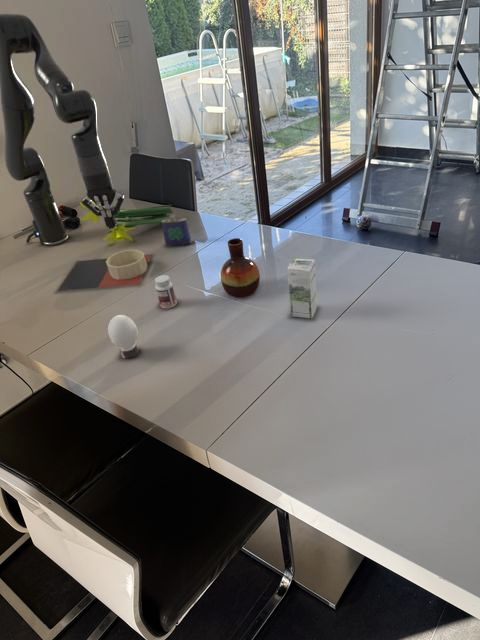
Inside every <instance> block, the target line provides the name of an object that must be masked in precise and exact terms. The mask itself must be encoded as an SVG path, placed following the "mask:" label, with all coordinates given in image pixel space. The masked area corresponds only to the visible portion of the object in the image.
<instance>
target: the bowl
mask: <svg viewBox="0 0 480 640" xmlns="http://www.w3.org/2000/svg"><path fill="white" fill-rule="evenodd" d="M144 255H145V253H144V251H142V250H140V249H124V250H121V251H118V252H116V253H113V254H111V255H110V256H109V257H107V258H106V259H107V261H106V264H107V267H108V270H109V273H110V275H111V277H113V278H114V279H119V280H125V279H131V278H134V277H137V276H139V275H141V274H143V275H144V273H145V272H146V271H147V269H148V264H147V263H146V259H145V256H144Z"/></svg>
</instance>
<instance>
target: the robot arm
mask: <svg viewBox="0 0 480 640" xmlns="http://www.w3.org/2000/svg"><path fill="white" fill-rule="evenodd" d="M17 54H19V55H20V54H32V55H34V56H35V57H34V62H33V73H34V76H35V78H36V80H37V82H38V83H39V85H40V86H41V87H42V88H43V90H44V91H45V92H46V94H47V95H48V97H49V99H50V101H51V103H52V107H53V111H54V113H55V116H56V117H57V119H59V121H61V122H62V123H65V124H74V123H78V122H82V126H81V128H79V129H78V130H76V131H74V132H73V133H72V134H71V136H70V139H71V142H72V143H71V144H72V147H73V148H74V152H75V155H76V159H77V165H78V168H79V171H80V175H81V176H82V180H83V183H84V186H85V189H86V197H85V198H84V199H83V200H82V204H83V205H85V206H86V207H87V208H88V209H89V210H88V211H90V210H91V211H92V212H93V213H94V214H95V215H97V216H99V217H102V218H103V220H104V224H105V226H106V228H108V229H109V230H111V229H113V228H115V226H116V225H117V224H116V222H117V221H116V220H115V219H116V218H115V217H114V215H115V214H117V213H118V212H119V209H121V206H122V205H123V202H124V200H125V199H126V195H125V194H120V193H118V192H117V190H116V188H115V186H114V184H113V181H112V178H111V177H112V176H111V173H110V171H109V167H108V163H107V159H106V157H105V155H104V152H103V150H102V146H101V142H100V138H99V133H98V119H97V118H98V116H97V115H98V112H97V104H96V101H95V98H94V96H93V95H92V93H90V91H88V90H87V89H76V90H74V84H73V82H72V80H71V78H69V76H68V75H67V74H66V72H65V71H64V70H63V69H62V68H61V67H60V66H59V64H58V63H57V61H56V60H55V59H54V57H53V55H52V53H51V51H50V50H49V48H48V46H47V44H46V42H45V40H44V38H43V37H42V35H41V33H40V31H39V29H38V28H37V26H36V24H35V23H34V22H33V21H32V19H31V18H30V17H29V16H27V15H26V14H22V13H0V105H1V106H0V107H1V113H2V119H3V120H2V121H3V132H4V133H3V134H4V164H5V168H6V170H7V173H8V174H9V176H10V177H11V179H13V180H15V181H17V182H22V181H26V180H29V179H30V180H29V182H28V184H27V186H26V187H25V188H24V189H23V191H22V194H23V197H24V199H25V202H26V204H27V206H28V209H29V211H30V214H31V216H32V220H31V223H32V226H33V228H34V229H33V230H32V232H31V233H30V234H29V235H28V236H27V238H26V241H25V242H26V243H27V244H29V243H30V241H31V238H33V236H34V237H35V239H37V238H38V240H39V241H40V244H41V246H43V245H44V246H55V245H59V244H62V243H64V242H66V241H68V239H69V234H68V233H67V229H66V227H65V225H64V222H63V219H62V217H61V214H60V211H59V209H58V207H57V206H58V205H57V203H56V201H55V198H54V195H53V193H52V190H51V183H50V179H49V177H48V173H47V171H46V167H45V163H44V162H43V160H42V157H41V155H40V154H39V152H38V150H36V149H35V148H33V147H30V146H28V147H27V146H26V147H25V144H26V141H27V139H28V137H29V135H30V133H31V130H32V129H33V126H34V123H35V119H36V118H35V117H36V113H35V99H34V95H33V94H32V92H31V90H30V89H29V88H28V86H27V84H26V83H25V82H24V81H23V79H22V78H21V77H20V75H19V74H18V73H17V71H16V69H15V67H14V64H13V58H12V55H17ZM114 200H115V201H116V204H115V205H113V202H114ZM92 201H93V202H94V203H95V204H96V205H97V206H98V207H97V206H96V205H95V204H94V203H92ZM113 206H115V207H114V209H113ZM91 211H90V212H91Z"/></svg>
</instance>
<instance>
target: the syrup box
mask: <svg viewBox="0 0 480 640" xmlns="http://www.w3.org/2000/svg"><path fill="white" fill-rule="evenodd" d="M286 269H287V270H286V271H287V281H288V292H289V295H288V296H289V306H290V316H291V318H300V319H309V320H312V319H313V318H314V315H315V313H316V311H317V308H318V304H317V303H318V302H317V281H316V280H317V279H316V260H315V259H308V258H292V260H291V261H290V262H289V265H288V267H287V268H286Z"/></svg>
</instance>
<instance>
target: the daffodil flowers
mask: <svg viewBox="0 0 480 640" xmlns="http://www.w3.org/2000/svg"><path fill="white" fill-rule="evenodd" d="M78 203H79V205H80V206H81V207H82V208H84V209H86V210H88V211H90V212H88V213H87V214H86V215H85V216H83V217H82V218H81V219H80V221H87V220H90V219H92V224H93V225H95V224H96V223H97V222H98V220H99V219H100V216H97V215H95V214H94V213H93V212H92V211H91V210H89V209H88V208H87V207H86V206H85V205H83V204H82V202H81V201H79V202H78ZM92 203H94V202H93V201H92ZM94 204H95V203H94ZM95 205H96V204H95ZM96 206H97V205H96ZM115 206H116V205H113V209H114V208H115ZM97 207H98V206H97ZM170 214H173V210H172V204H165V205H156V206H150V207H149V206H148V207H142V208H131V209H123V208H120V209H119V211H118V213H117V214H115V215H114V217H115V220H116V226H115V228H113V229H110V230H109V231H108V232H107V235H105V236H104V238H103V239H101V240H102V241H106V240H108V239H110V240H109V245H113V244H114V243H115V241H117V242H124V241H125V239H127V240H129V241H130V242H134V239H133V238H132V237H131V236H130V235H129V234H128V233H127V232H129V231H131V230H137V227H136V226H145V225H158V224H161V221H162V220H165V219H167V220H168V219H171V215H170ZM102 241H101V242H102Z"/></svg>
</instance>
